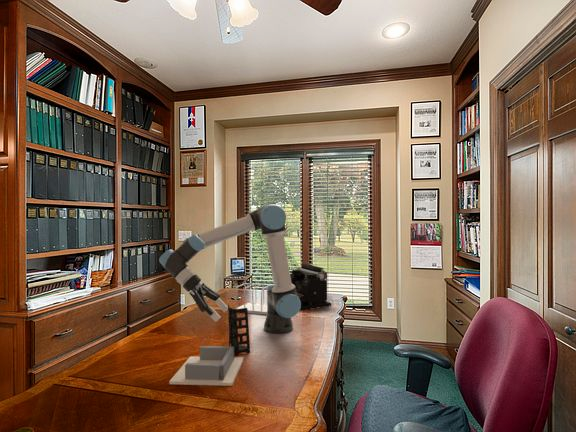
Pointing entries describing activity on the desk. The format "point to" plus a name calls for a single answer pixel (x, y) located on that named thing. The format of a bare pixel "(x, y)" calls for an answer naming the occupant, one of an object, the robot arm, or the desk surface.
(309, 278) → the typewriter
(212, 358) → the bay
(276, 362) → the desk surface
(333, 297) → the desk surface
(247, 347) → the holder
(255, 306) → the file sorter
